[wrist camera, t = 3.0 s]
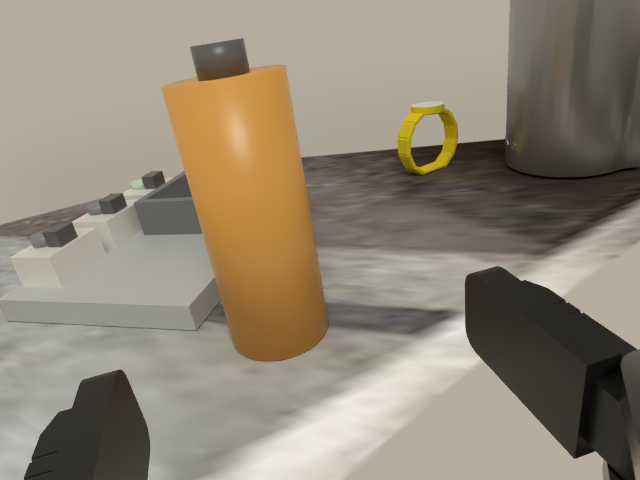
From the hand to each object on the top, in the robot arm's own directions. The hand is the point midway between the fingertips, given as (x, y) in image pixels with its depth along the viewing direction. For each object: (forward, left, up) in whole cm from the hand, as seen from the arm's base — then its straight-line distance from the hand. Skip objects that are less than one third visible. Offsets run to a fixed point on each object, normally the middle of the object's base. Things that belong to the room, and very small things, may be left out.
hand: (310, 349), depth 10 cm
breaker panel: (+16, -17, -7) cm, 25 cm away
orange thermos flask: (+5, -9, -7) cm, 12 cm away
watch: (-1, -33, -7) cm, 34 cm away
